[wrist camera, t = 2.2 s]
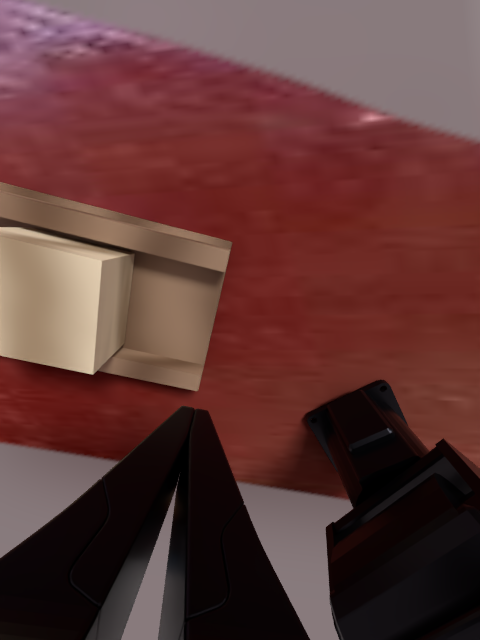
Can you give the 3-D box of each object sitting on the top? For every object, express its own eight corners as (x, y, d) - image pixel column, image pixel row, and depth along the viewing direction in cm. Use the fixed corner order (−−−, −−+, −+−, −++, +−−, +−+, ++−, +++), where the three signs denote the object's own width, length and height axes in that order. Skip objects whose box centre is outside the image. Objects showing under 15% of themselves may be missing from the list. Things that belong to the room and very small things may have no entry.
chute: (232, 242, 16) (231, 243, 14) (200, 380, 19) (196, 396, 17) (-225, 123, 14) (-298, 106, 12) (-177, 300, 17) (-229, 309, 15)
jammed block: (134, 253, 16) (102, 260, 12) (124, 343, 17) (92, 374, 14) (30, 227, 15) (-40, 226, 11) (30, 323, 17) (-29, 349, 13)
